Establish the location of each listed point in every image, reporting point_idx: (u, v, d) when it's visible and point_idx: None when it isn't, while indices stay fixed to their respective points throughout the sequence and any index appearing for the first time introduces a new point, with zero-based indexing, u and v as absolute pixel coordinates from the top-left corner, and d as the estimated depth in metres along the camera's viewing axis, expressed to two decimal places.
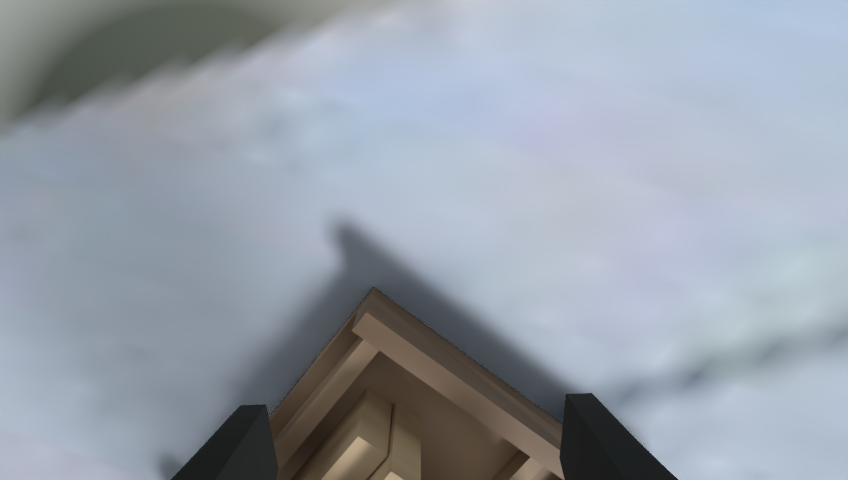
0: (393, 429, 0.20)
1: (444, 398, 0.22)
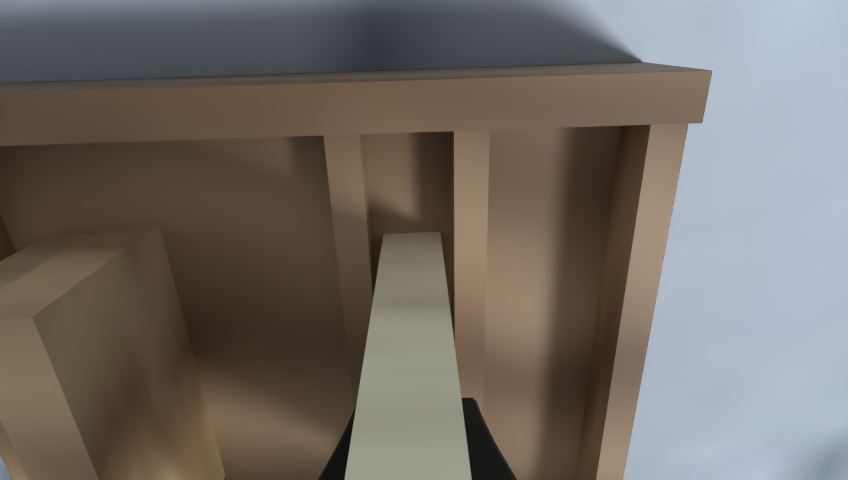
0: (55, 258, 0.11)
1: (152, 165, 0.12)
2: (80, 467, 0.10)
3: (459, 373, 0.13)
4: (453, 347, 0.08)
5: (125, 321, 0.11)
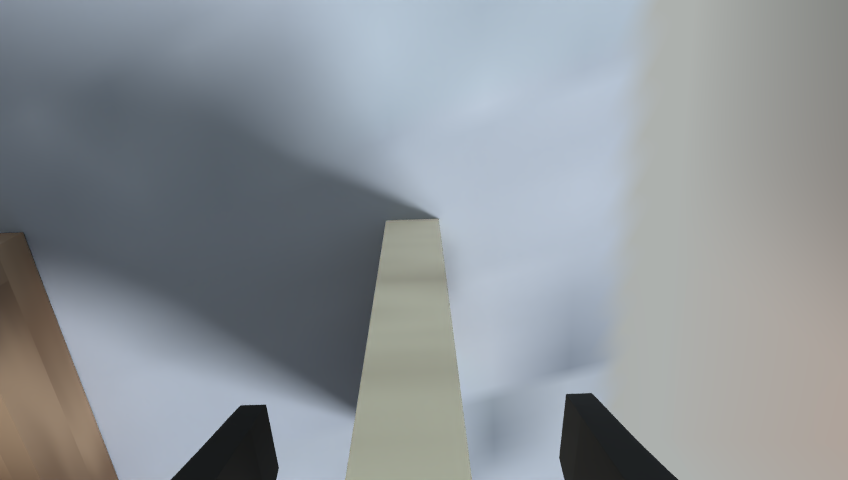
0: None
1: None
2: None
3: None
4: (449, 314, 0.09)
5: None
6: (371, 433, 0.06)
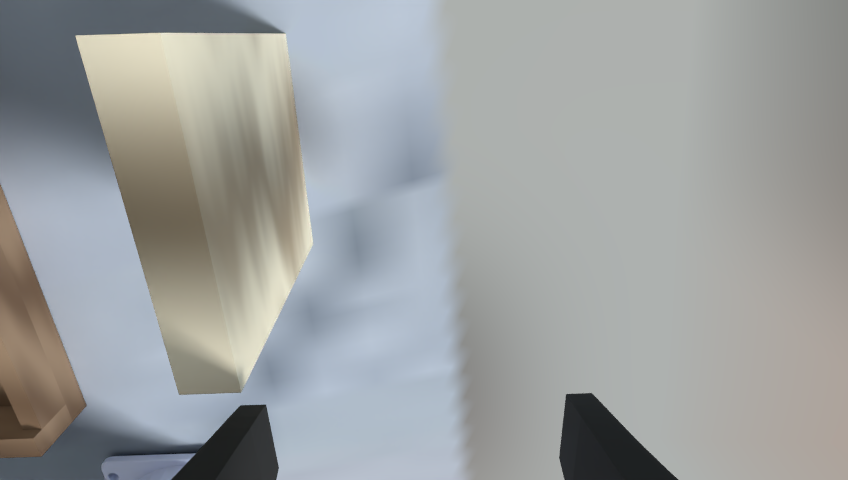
0: None
1: None
2: None
3: None
4: (234, 33, 0.12)
5: None
6: None
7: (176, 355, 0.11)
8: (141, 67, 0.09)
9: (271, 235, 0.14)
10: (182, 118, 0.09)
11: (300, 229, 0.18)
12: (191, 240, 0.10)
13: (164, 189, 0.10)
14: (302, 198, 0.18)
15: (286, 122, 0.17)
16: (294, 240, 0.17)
